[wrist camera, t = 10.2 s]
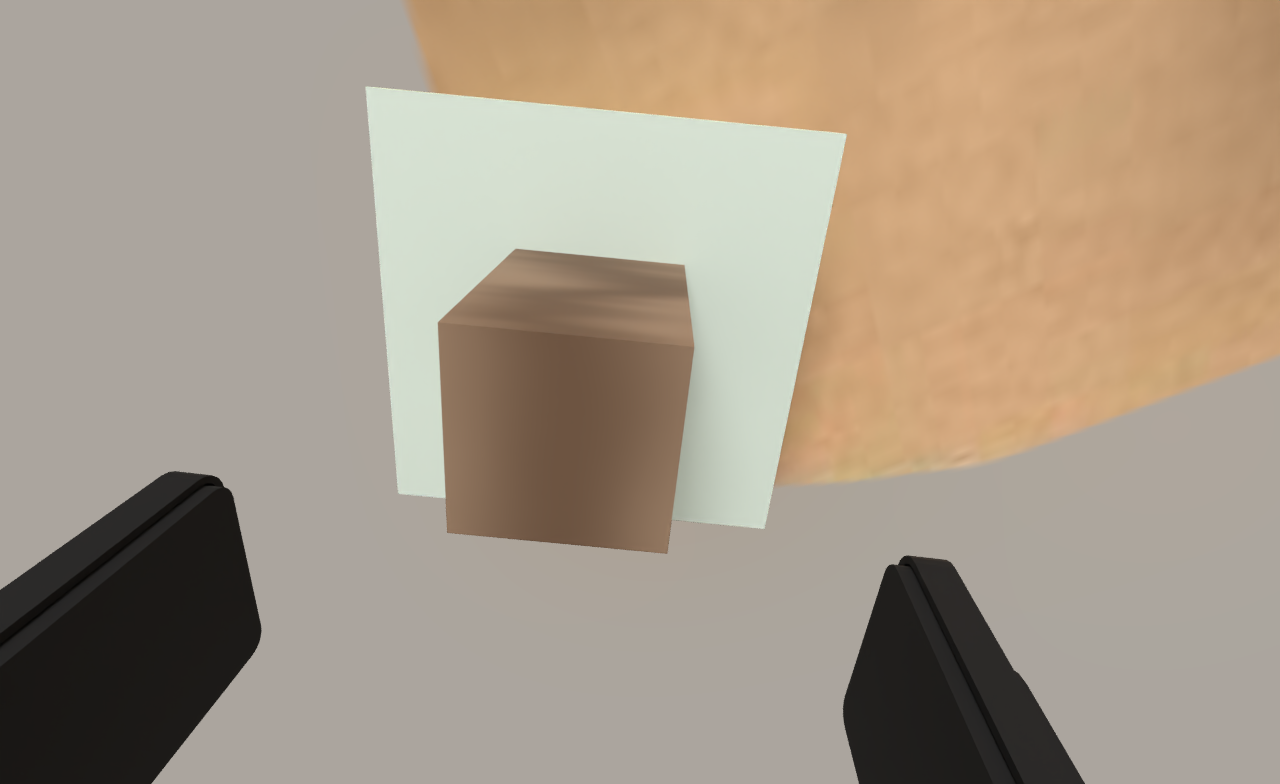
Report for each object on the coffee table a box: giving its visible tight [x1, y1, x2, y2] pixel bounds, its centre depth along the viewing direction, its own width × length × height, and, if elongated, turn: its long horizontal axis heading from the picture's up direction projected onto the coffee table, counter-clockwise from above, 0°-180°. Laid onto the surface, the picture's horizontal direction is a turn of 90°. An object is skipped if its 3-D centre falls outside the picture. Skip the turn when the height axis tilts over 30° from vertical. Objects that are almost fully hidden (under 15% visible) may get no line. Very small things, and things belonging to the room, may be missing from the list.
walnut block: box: [438, 249, 694, 553], centre depth 16 cm, size 5×5×7 cm
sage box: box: [366, 87, 847, 529], centre depth 22 cm, size 13×13×6 cm
